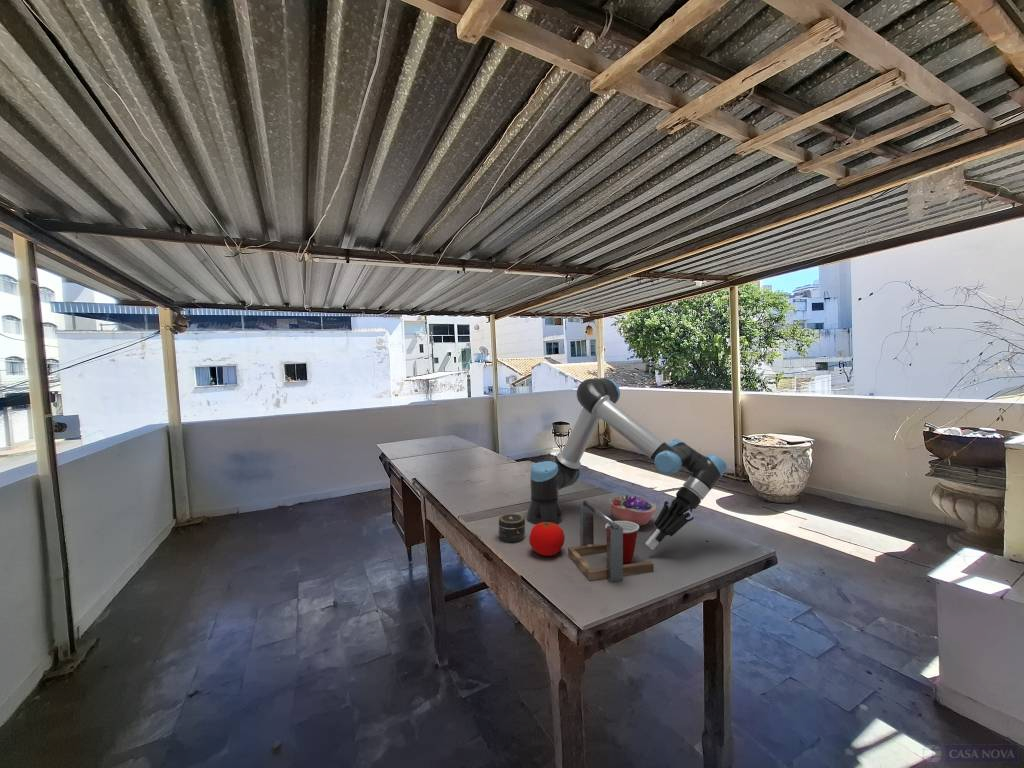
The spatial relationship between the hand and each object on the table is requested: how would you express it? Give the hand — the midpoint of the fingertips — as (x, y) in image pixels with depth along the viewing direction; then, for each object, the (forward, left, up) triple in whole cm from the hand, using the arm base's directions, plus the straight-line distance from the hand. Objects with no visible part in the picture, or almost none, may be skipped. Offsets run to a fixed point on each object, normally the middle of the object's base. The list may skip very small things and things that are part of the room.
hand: (648, 546), depth 130 cm
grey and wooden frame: (0, -15, -4) cm, 15 cm away
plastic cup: (0, -10, -4) cm, 11 cm away
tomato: (-12, -32, -4) cm, 34 cm away
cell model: (-28, +10, -4) cm, 30 cm away
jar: (-27, -41, -4) cm, 49 cm away
